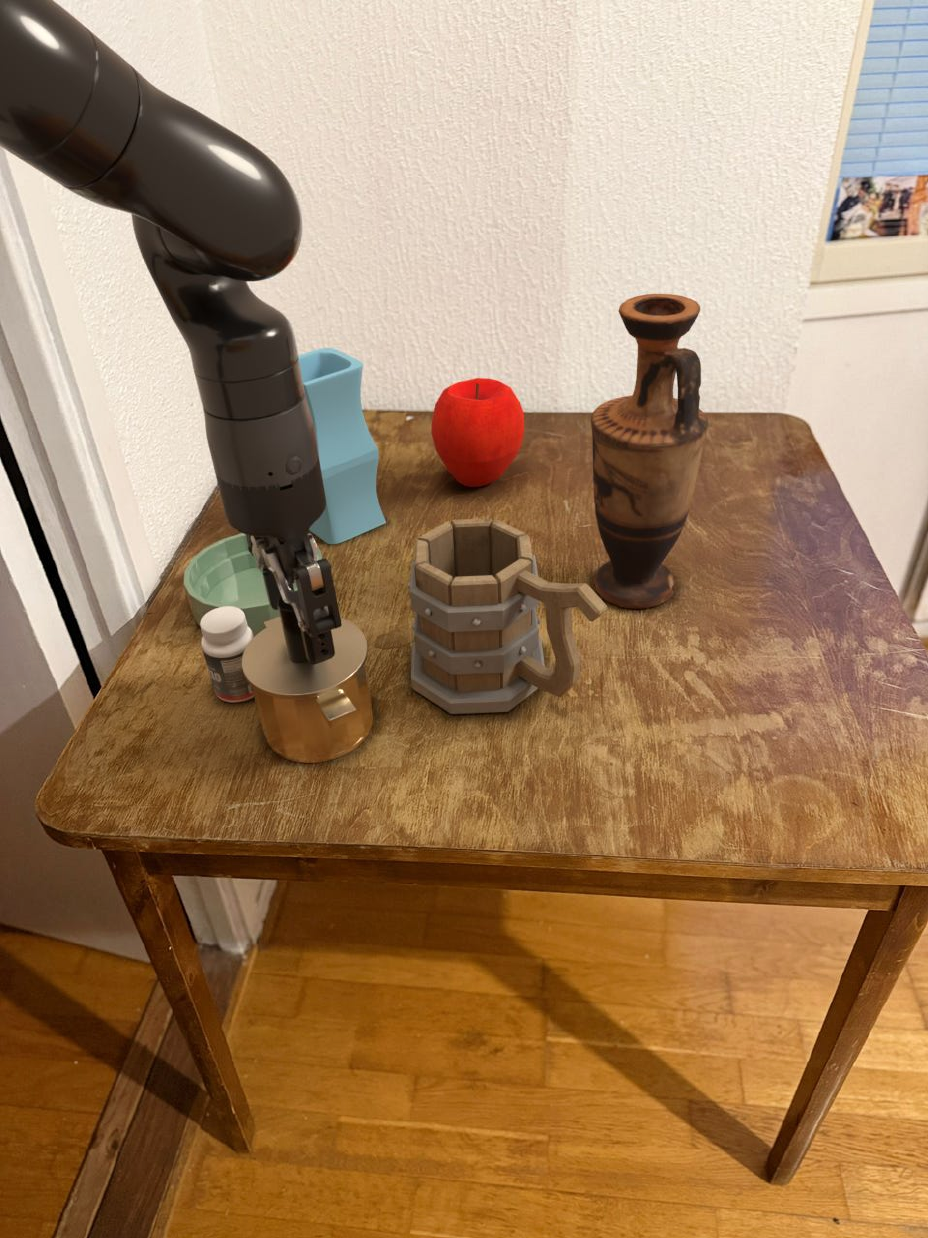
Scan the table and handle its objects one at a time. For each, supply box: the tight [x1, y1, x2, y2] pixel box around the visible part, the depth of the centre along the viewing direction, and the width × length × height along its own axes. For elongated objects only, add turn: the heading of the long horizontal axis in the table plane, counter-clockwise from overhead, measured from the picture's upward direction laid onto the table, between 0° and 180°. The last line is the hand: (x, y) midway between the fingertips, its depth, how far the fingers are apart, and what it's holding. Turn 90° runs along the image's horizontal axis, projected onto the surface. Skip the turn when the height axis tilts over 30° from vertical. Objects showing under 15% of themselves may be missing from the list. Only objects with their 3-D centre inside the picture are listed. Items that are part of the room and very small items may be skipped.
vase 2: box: [590, 293, 709, 610], centre depth 86 cm, size 11×11×30 cm
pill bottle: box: [199, 606, 254, 703], centre depth 82 cm, size 5×5×8 cm
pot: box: [251, 617, 374, 764], centre depth 78 cm, size 10×15×8 cm, turn 30°
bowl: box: [183, 533, 323, 637], centre depth 95 cm, size 14×14×4 cm
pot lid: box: [242, 596, 369, 699], centre depth 74 cm, size 11×11×7 cm
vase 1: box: [298, 347, 387, 545], centre depth 102 cm, size 8×8×20 cm
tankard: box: [407, 517, 608, 715], centre depth 79 cm, size 20×13×15 cm, turn 46°
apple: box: [430, 377, 525, 488], centre depth 110 cm, size 12×12×13 cm
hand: (301, 631), depth 74 cm, fingers open, 8 cm apart
